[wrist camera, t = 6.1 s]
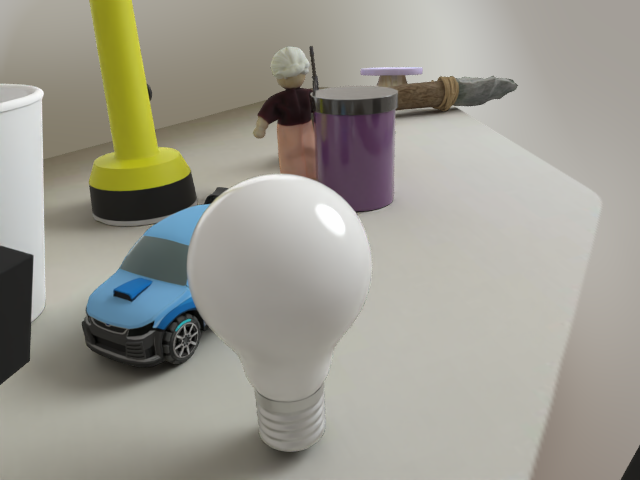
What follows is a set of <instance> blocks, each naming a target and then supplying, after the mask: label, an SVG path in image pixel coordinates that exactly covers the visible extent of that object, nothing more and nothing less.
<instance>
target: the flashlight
mask: <svg viewBox="0 0 640 480" xmlns="http://www.w3.org/2000/svg"><path fill="white" fill-rule="evenodd" d="M89 1H90V7H91V13H92V18H93V25H94V31H95V37H96V43H97V49H98V55H99V61H100V67H101V73H102V79H103V85H104V91H105V97H106V103H107V109H108V115H109V121H110V127H111V133H112V139H113V145H114V151H115V152H113V153H109V154H106V155H103V156H101V157H99V158H97V159H96V160H95V161H94V164H93V168H92V172H91V175H90V179H89V187H90V195H91V203H92V212H93V218H94V219H95V220H97V221H100V222H103V223H105V224H107V225H114V226H138V225H148V224H153V223H158V222H160V221H161V220H163V219H165V218H167V217H169V216H171V215H173V214H175V213H177V212H179V211H181V210H184V209H187V208H190V207H193V206H196V205H197V196H196V192H195V187H194V183H193V178H192V174H191V170H190V168H189V166H188V165H187V163H186V162H185V160H184V159H183V157H182V156H181V154H180V152H179V151H177V150H175V149H172V148H165V147H158V146H157V140H156V134H155V129H154V124H153V118H152V112H151V106H150V100H151V98H152V91H151V88H150V87H149V85H148V84H147V83H146V79H145V73H144V67H143V61H142V57H141V50H140V45H139V39H138V33H137V28H136V22H135V16H134V11H133V5H132V0H89Z"/></svg>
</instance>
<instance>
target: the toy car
mask: <svg viewBox="0 0 640 480" xmlns="http://www.w3.org/2000/svg"><path fill="white" fill-rule="evenodd" d="M227 189H229V188H221V187H217V189H216V190H215V192H214V193H213V194H211V195H209V196H208V197H207V198H206V201H205V203H204V205H196V206H193V207H190V208H187V209H184V210H181V211H179V212H177V213H175V214H173V215H171V216H169V217H167V218H165V219H163V220H161V221H160V222H158V223H156V224H155V225H153V226H152V227H151V228H149V229H148V230H147V231H146V232H145V233H144V235H143V236H142V237H141V238H140V239H139V240H138V241H137V242H136V243H135V245H134V246H133V247H132V248H131V250H130V251H129V253H128V254H127V256H126V257H125V259H124V261H123V262H122V264H121V266H120V268H119V269H118V270H117V272H116V273H115V274H113V275H112V276H111V277H110V278H109V279H108V280H107V281H105V282H104V283H103V284H101V285H100V286H99V287H98V288H97V289H96V290H95V291H94V292H93V293H92V294H91V295H90V296H89V300H88V304H87V307H86V317H85V320H84V321H83V322H82V328H83V331H84V335H85V342H86V344H87V346H88V347H89V348H90V349H91V350H92V351H94V352H96V353H98V354H100V355H102V356H105V357H107V358H110V359H113V360H115V361H118V362H121V363H124V364H128V365H131V366H137V367H151V366H156V365H157V364H159V363H161V362H164V361H168V362H170V363H172V364H179V363H183V362H185V361H186V360H187V358H188V359H189V358H190V357H191V356H192V354H193V353H194V351H195V350H196V348H197V346H198V343H199V339H200V333H201V331H200V330H203V331H205V330H206V329H208V328H209V327H208V326H207V324H206V323H205V322H204V320H203V319H202V317H201V316H200V314H199V312H198V310H197V308H196V306H195V304H194V302H193V299H192V296H191V293H190V290H189V286H188V280H187V253H188V248H189V243H190V240H191V237H192V234H193V231H194V229H195V227H196V225H197V223H198V221H199V219H200V217H201V216H202V214H203V213H204V211H205V210H206V209H207V208H208V206H209V205H210V204H211V203H212V202H213V201H214V200H215V199H216V198H217V197H218V196H219V195H221V194H222V193H223V192H224V191H226V190H227ZM180 331H181V333H180ZM176 342H177V343H176Z"/></svg>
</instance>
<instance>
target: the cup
mask: <svg viewBox="0 0 640 480" xmlns="http://www.w3.org/2000/svg"><path fill="white" fill-rule="evenodd" d="M43 95H44V92H43V90H41V89H39V88H37V87H35V86H28V85H20V84H0V246H4V247H8V248H11V249H15V250H18V251H22V252H25V253H28V254H32V255H34V258H33V285H32V313H31V322H32V321H33V320H35V319H36V318H37V317H38V316H39V315H40V314H41V312H42V311H43V309H44V308H45V301H46V299H45V245H44V190H43V140H42V139H43V138H42V97H43Z"/></svg>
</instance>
